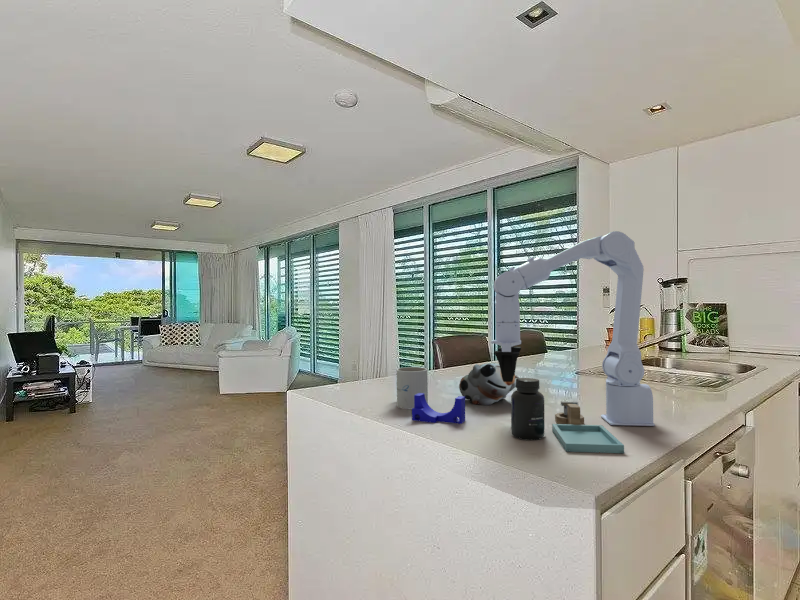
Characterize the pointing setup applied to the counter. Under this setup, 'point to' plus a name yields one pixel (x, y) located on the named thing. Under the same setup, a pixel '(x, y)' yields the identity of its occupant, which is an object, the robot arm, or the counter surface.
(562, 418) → the ring
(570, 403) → the grey cylinder and bar
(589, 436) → the tray
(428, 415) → the blue curved cradle
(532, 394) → the supplement bottle
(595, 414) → the counter surface
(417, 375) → the mug
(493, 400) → the lucky cat figurine
